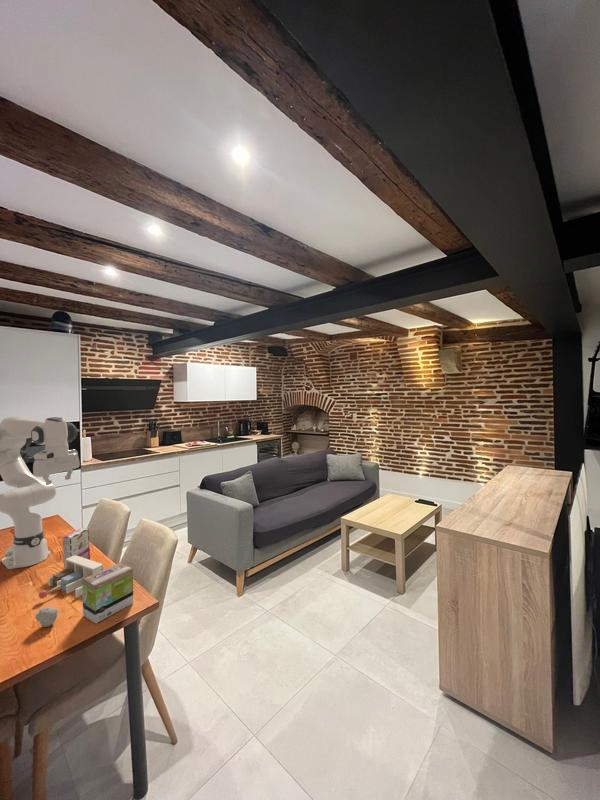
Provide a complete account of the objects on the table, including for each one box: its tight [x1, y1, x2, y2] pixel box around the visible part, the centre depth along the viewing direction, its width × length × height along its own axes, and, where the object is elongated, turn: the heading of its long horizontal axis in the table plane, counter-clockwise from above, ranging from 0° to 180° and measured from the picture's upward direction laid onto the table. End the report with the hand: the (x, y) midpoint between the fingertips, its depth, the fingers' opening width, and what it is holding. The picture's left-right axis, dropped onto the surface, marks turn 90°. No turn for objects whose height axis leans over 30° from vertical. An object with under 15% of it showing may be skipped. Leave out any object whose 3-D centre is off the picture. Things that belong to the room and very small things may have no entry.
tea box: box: [82, 562, 134, 624], centre depth 135 cm, size 15×10×15 cm, turn 148°
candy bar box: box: [62, 527, 91, 570], centre depth 171 cm, size 11×5×16 cm, turn 168°
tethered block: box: [38, 572, 82, 599], centre depth 147 cm, size 4×16×5 cm, turn 153°
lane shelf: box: [47, 555, 104, 599], centre depth 153 cm, size 21×12×9 cm, turn 63°
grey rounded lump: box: [34, 606, 59, 628], centre depth 126 cm, size 6×7×7 cm
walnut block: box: [52, 569, 73, 588], centre depth 155 cm, size 4×6×5 cm
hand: (58, 481), depth 159 cm, fingers open, 8 cm apart
